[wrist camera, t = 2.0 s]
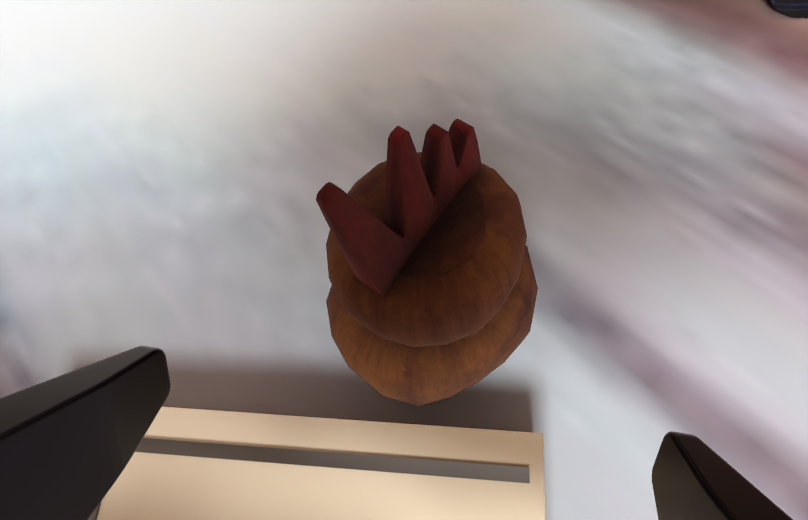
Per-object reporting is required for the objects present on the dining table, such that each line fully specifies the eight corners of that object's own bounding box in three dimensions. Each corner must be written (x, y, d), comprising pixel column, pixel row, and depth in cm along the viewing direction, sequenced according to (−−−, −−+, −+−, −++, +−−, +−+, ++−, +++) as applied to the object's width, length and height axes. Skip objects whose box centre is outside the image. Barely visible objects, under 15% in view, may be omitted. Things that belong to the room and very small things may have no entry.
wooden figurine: (402, 439, 20) (289, 404, 6) (334, 319, 22) (128, 75, 8) (542, 349, 20) (745, 124, 6) (464, 241, 22) (491, -105, 8)
